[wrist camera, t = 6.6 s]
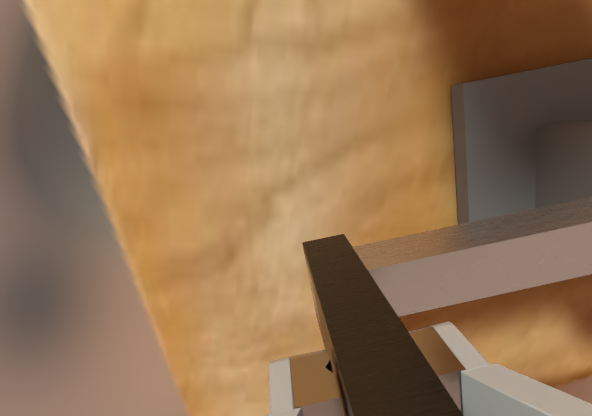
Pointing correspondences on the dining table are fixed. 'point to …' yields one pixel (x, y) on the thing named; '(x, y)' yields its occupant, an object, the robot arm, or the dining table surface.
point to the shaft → (429, 295)
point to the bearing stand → (523, 140)
